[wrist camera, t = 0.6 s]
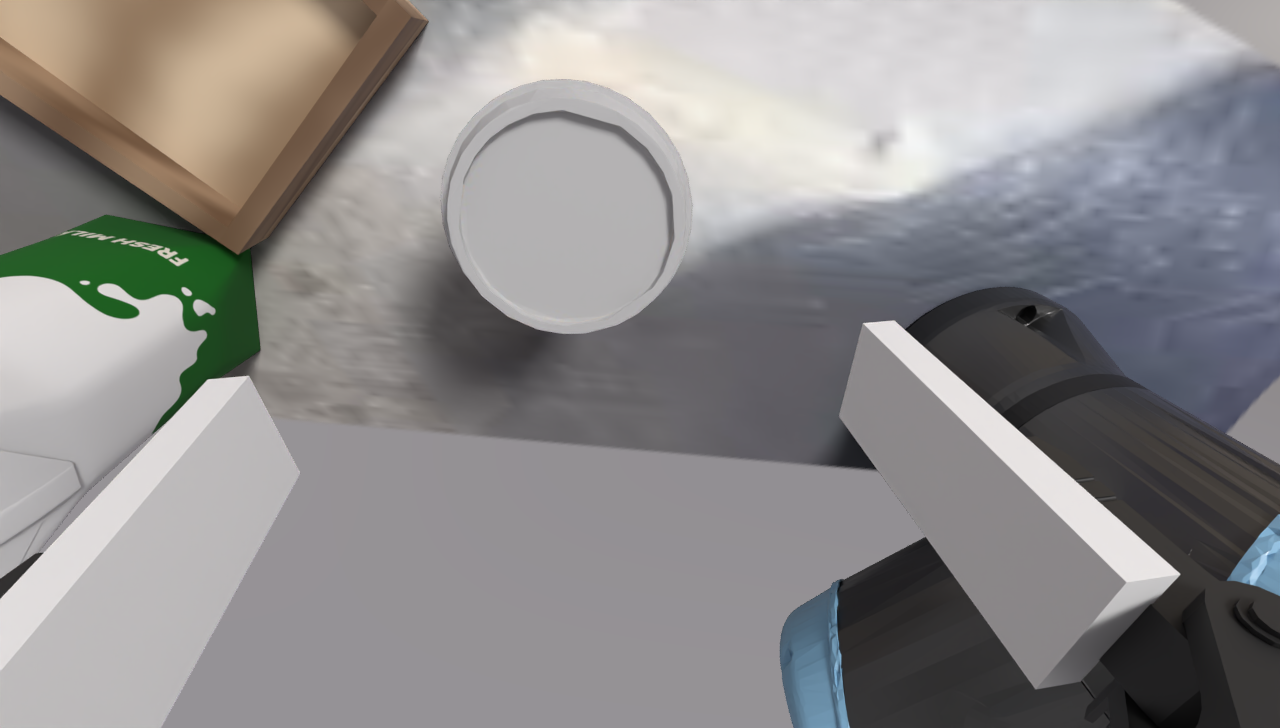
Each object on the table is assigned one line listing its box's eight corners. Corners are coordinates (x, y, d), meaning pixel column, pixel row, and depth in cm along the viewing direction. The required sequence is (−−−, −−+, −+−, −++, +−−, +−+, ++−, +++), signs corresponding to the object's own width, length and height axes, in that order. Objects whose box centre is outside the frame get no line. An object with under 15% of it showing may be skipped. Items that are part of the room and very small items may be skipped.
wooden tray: (428, 21, 25) (411, 16, 23) (267, 237, 29) (238, 254, 27) (72, -343, 19) (-9, -407, 16) (-67, 1, 23) (-148, -5, 20)
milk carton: (267, 230, 29) (-178, 475, 12) (278, 366, 34) (-40, 689, 16) (81, 192, 27) (-753, 417, 10) (118, 341, 32) (-429, 676, 15)
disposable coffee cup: (508, 260, 32) (472, 359, 21) (466, 82, 27) (393, 98, 16) (663, 240, 32) (703, 328, 22) (650, 61, 27) (692, 63, 17)
